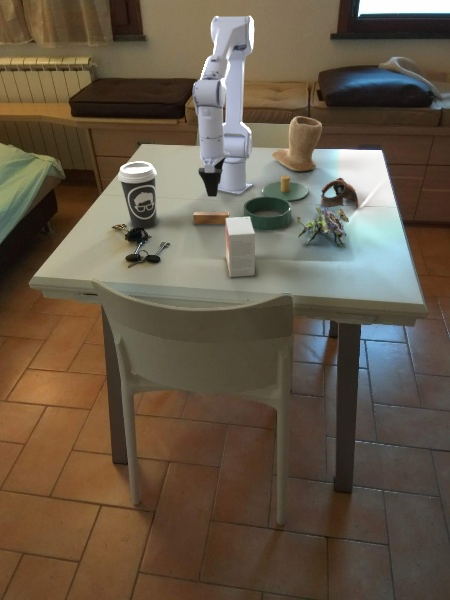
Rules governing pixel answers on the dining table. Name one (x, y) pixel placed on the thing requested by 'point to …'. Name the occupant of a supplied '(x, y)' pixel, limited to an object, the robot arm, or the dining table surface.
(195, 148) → the dining table surface
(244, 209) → the tin
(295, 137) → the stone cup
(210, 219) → the stick
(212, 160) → the robot arm
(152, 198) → the coffee cup
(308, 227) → the passion flower
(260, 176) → the dining table surface
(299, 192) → the tin lid
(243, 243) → the small box
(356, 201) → the brown hollow shell
